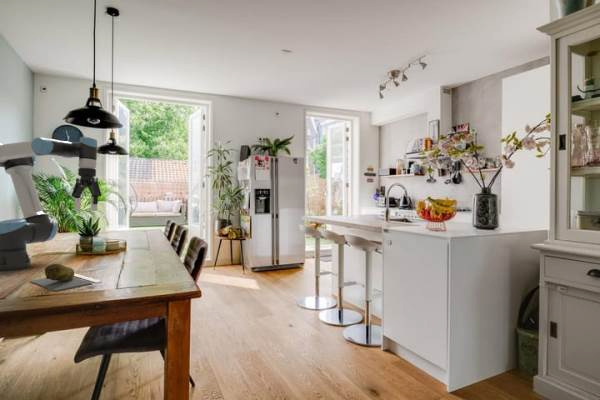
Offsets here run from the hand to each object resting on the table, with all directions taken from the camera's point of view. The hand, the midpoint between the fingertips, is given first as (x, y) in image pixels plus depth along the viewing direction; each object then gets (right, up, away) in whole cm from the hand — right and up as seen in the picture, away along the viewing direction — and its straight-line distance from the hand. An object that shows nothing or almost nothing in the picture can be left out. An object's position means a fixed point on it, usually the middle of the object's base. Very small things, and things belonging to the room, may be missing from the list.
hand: (85, 211), depth 170 cm
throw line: (+12, -29, -20) cm, 37 cm away
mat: (+7, -29, -28) cm, 41 cm away
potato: (+7, -29, -27) cm, 40 cm away
